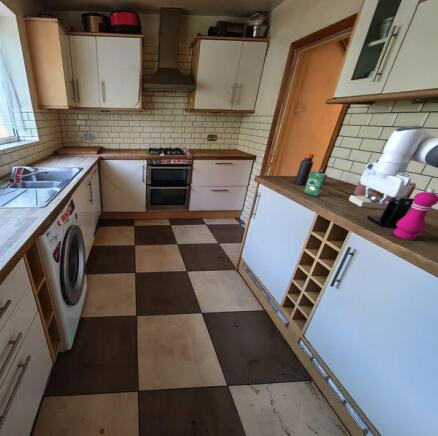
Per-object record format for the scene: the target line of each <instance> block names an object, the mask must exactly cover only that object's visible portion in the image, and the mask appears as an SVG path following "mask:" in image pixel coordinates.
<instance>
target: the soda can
mask: <svg viewBox="0 0 438 436" xmlns="http://www.w3.org/2000/svg"><path fill="white" fill-rule="evenodd" d="M416 186H417V182H416V181H410V186H409V188H408V191H407V193H406V195H405V196H406V197H405V198H411V196H412V194H413V192H414V191H415V188H416ZM388 202H389V201H388Z"/></svg>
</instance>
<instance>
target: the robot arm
mask: <svg viewBox="0 0 438 436" xmlns="http://www.w3.org/2000/svg"><path fill="white" fill-rule="evenodd" d="M410 162H416V163H420V164H423V165H428V166H431V167H433V168H435V169H438V136H436V135H434V134H432V133H430V132H428V131H427V130H426V129H425V127H424V126H420V125H419V126H418V125H413V126H412V125H411V126H410V125H409V126H402V127H399V128H396V129H395V130H394V131H393V132H392V133H391V135H390V136H389V138H388V139H387V142H386V143H385V146H384V148H383V152H382V155H381V156H380V157H379V158H378V161H375V162H371V163H367V164H366V165H365V170H364V171H363V173H362V174H363V175H362V174H361V176H362V177H361V176H360V178H361V180H360V179H359V181H360V184H362V185H365V186H367V187H366V195H365V197H367V198H370V197H371V196H372V195H373V194H372V190H373V189H374V190H376V191H379V192H380V194H383V197H382V198H383V199H379V202H378V203H379V204H382V205H385V204H386V202H387V201H388V200H389V199H391V198H392V197H393V198H403V197H404V196H405V195H406V193H407V191H408V188H409V186H410V181H411V180H412V178H411V176H410V174H408V173H406V171H407V169H408V167H409V165H410Z"/></svg>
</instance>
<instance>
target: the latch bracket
mask: <svg viewBox="0 0 438 436" xmlns="http://www.w3.org/2000/svg"><path fill="white" fill-rule="evenodd" d="M405 197H406V196H404V198H400V200H399V201H398V203H395V202H392V201H389V203H388V205H387V207H386V208H385V209H384V210H383V212H382V214H381V216H375V215H367V217H366V219H368V220H369V221H371V222H373V223H374V224H376V225H377V226H379V227H381V228H389V229H390V228H391V229H398V228H397V226H396V224H397V222H398V221H399V220H400V219H401V218H403V217H404V216H406V215H407V214H408V212H409V211H410V208H411V206H412V205H413V203H414V197H413V198H412V197H410V198H405ZM391 199H396V198H393V197H392V198H391Z"/></svg>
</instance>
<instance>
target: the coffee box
mask: <svg viewBox="0 0 438 436" xmlns="http://www.w3.org/2000/svg"><path fill="white" fill-rule="evenodd" d="M327 176H328V174H326V173H322V172H318V171H315V170H314V171H312V170H311V171H310V174H309V177H308V180H307V183H306V185H304V186H305V187H304V189H303V193H304V194H308V195H309V196H310V195H311V196H314V197H319V196H320V194H321V191H322V189H323V186H324V183H325V182H326V179H327Z"/></svg>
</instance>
